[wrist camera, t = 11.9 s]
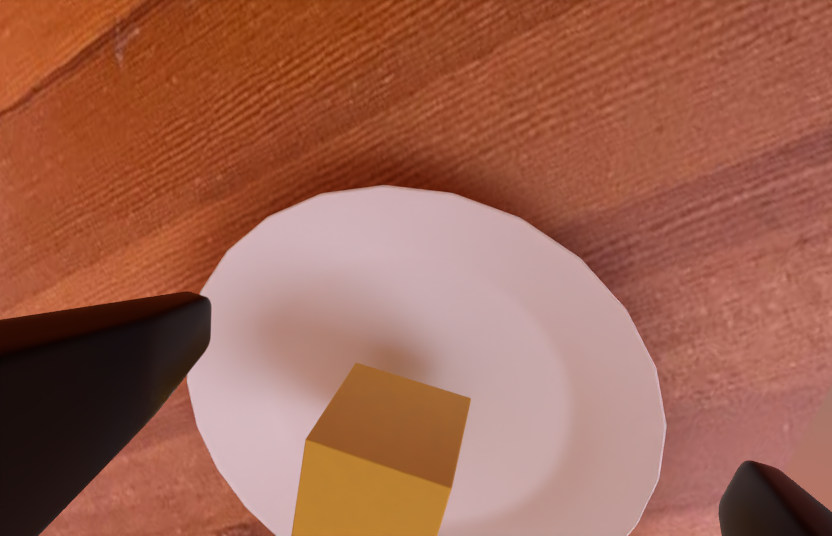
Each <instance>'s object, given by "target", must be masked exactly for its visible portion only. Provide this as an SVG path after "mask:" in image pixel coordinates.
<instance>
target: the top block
mask: <svg viewBox="0 0 832 536" xmlns="http://www.w3.org/2000/svg"><path fill="white" fill-rule="evenodd" d="M470 402H471V398H469V397H466V396H462V395H459V394H456V393H453V392H450V391H446V390H443V389H440V388H437V387H433V386H430V385H427V384H424V383H421V382H417V381H414V380H411V379H408V378H405V377H401V376H398V375H395V374H392V373H388V372H385V371H382V370H379V369H376V368H372V367H369V366H366V365H363V364H360V363H355V365H354V366H353V368H352V369H351V371H350V372H349V374H348V375H347V377H346V378H345V380H344V381H343V383H342V384H341V386H340V387H339V389H338V390H337V392H336V394H335V395H334V397H333V398H332V400H331V401H330V403H329V404H328V406H327V407H326V409H325V410H324V412H323V413H322V415H321V416H320V418H319V419H318V421H317V423H316V424H315V426H314V427H313V429H312V430H311V432H310V433H309V435H308V436H307V438H306V439H305V446H304V453H303V460H302V467H301V473H300V480H299V487H298V494H297V501H296V507H295V514H294V521H293V528H292V534H291V536H438V532H439V529H440V526H441V523H442V519H443V516H444V513H445V510H446V506H447V503H448V500H449V496H450V493H451V490H452V486H453V481H454V476H455V472H456V467H457V463H458V458H459V453H460V449H461V444H462V439H463V435H464V430H465V425H466V421H467V416H468V412H469V407H470Z"/></svg>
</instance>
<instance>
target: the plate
mask: <svg viewBox="0 0 832 536" xmlns="http://www.w3.org/2000/svg"><path fill="white" fill-rule="evenodd" d="M200 295H202V296H205V297H207V298H208V299H209V300H210V301H211V306H212V311H211V339H210V343H209V346H208V348H207V350H206V351H205V353H204V354H203V355H202V356H201V358H200V359H199V360H198V361H197V363H196V364H195V365H194V366H193V368H192V369H191V370H190V371H189V373H188V374H187V385H188V389H189V394H190V398H191V402H192V407H193V411H194V415H195V420H196V424H197V428H198V430H199V432H200V434H201V436H202V438H203V440H204V442H205V444H206V447H207V449H208V451H209V453H210V455H211V457H212V459H213V461H214V463H215V465H216V467H217V469H218V471H219V472H220V473H221V475H222V476H223V477H224V479H225V480H226V481H227V483H228V484H229V485H230V487H231V488H232V489H233V491H234V492H235V494H236V495H237V496H238V498H239V499H240V500H241V502H242V503H243V504H244V506H245V507H246V508H247V509H248V510H249V511H250V512H251V513H252V514H253V515H254V516H256V517H257V518H258V519H259V520H260V521H261V522H262V523H263V524H264V525H265V526H266V527H267V528H268V529H269V530H270V531H271V532H272V533H273V534H275V535H276V536H291V534H292V528H293V521H294V514H295V507H296V501H297V494H298V487H299V480H300V473H301V467H302V460H303V453H304V446H305V439H306V438H307V436H308V435H309V433H310V432H311V430H312V429H313V427H314V426H315V424H316V423H317V421H318V419H319V418H320V416H321V415H322V413H323V412H324V410H325V409H326V407H327V406H328V404H329V403H330V401H331V400H332V398H333V397H334V395H335V394H336V392H337V390H338V389H339V387H340V386H341V384H342V383H343V381H344V380H345V378H346V377H347V375H348V374H349V372H350V371H351V369H352V368H353V366H354V365H355V363H360V364H363V365H366V366H369V367H372V368H376V369H379V370H382V371H385V372H388V373H392V374H395V375H398V376H401V377H405V378H408V379H411V380H414V381H417V382H421V383H424V384H427V385H430V386H433V387H437V388H440V389H443V390H446V391H450V392H453V393H456V394H459V395H462V396H466V397H469V398H471V402H470V407H469V412H468V416H467V421H466V425H465V430H464V435H463V439H462V444H461V449H460V453H459V458H458V463H457V467H456V472H455V476H454V481H453V486H452V490H451V493H450V496H449V500H448V503H447V506H446V510H445V513H444V516H443V519H442V523H441V526H440V529H439V532H438V536H628V535H629V533H630V532H631V531H632V530H633V529H634V528H635V527H636V526H637V524H638V522H639V520H640V518H641V516H642V514H643V511H644V509H645V507H646V505H647V503H648V501H649V499H650V497H651V495H652V493H653V491H654V489H655V487H656V485H657V483H658V481H659V476H660V469H661V462H662V455H663V448H664V441H665V434H666V427H667V425H666V419H665V414H664V408H663V403H662V397H661V391H660V386H659V380H658V374H657V369H656V366H655V364H654V362H653V360H652V358H651V356H650V354H649V352H648V350H647V348H646V346H645V344H644V343H643V341H642V339H641V337H640V335H639V333H638V331H637V329H636V327H635V325H634V323H633V321H632V319H631V317H630V315H629V313H628V311H627V309H626V308H625V307H624V306H623V305H622V304H621V303H620V302H619V301H618V299H617V298H616V297H615V296H614V295H613V294H612V293H611V292H610V290H609V289H608V288H607V287H606V286H605V285H604V284H603V283H602V282H601V280H600V279H599V278H598V277H597V276H596V275H595V274H594V273H593V271H592V270H591V269H590V268H589V267H588V266H587V265H586V264H585V262H584V261H583V260H582V259H581V258H580V257H578V256H577V255H575V254H574V253H572V252H571V251H569V250H568V249H566V248H565V247H563V246H562V245H560V244H559V243H557V242H556V241H555V240H553V239H552V238H550V237H549V236H547V235H546V234H544V233H543V232H541V231H540V230H538V229H537V228H535V227H534V226H532V225H531V224H529V223H528V222H526V221H525V220H523V219H522V218H520V217H518V216H515V215H512V214H509V213H507V212H504V211H501V210H498V209H496V208H493V207H490V206H488V205H485V204H482V203H479V202H477V201H474V200H471V199H468V198H466V197H463V196H460V195H457V194H455V193H450V192H441V191H433V190H424V189H416V188H407V187H399V186H390V185H379V186H372V187H364V188H357V189H349V190H342V191H334V192H327V193H321V194H318V195H316V196H314V197H311V198H309V199H307V200H304V201H302V202H300V203H298V204H295V205H293V206H291V207H288V208H286V209H284V210H281V211H279V212H277V213H275V214H272V215H270V216H268V217H267V218H265V219H264V220H263V221H262V222H261V223H259V224H258V225H257V226H256V227H255V228H253V229H252V230H251V231H250V232H249V233H247V234H246V235H245V236H244V237H243V238H241V239H240V240H239V241H238V242H237V243H235V244H234V245H233V246H232V247H231V248H229V249H228V250H227V252H226V253H225V255H224V256H223V258H222V259H221V261H220V262H219V264H218V265H217V267H216V268H215V270H214V271H213V273H212V274H211V276H210V277H209V279H208V280H207V282H206V283H205V285H204V286H203V288H202V289H201V291H200Z"/></svg>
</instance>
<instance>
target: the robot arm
mask: <svg viewBox="0 0 832 536" xmlns="http://www.w3.org/2000/svg"><path fill="white" fill-rule="evenodd" d="M211 311H212V306H211V301H210V300H209V299H208V298H207V297H205V296H202V295H199V294H195V293H192V292H180V293H173V294H167V295H160V296H154V297H147V298H140V299H134V300H127V301H121V302H114V303H108V304H101V305H95V306H88V307H81V308H75V309H68V310H62V311H55V312H49V313H42V314H35V315H29V316H22V317H16V318H9V319H3V320H0V536H38V535H39V534H40V533H41V532H42V531H43V530H44V529H45V528H46V527H47V526H48V525H49V524H50V523H51V522H52V521H53V520H54V519H55V518H56V517H57V516H58V515H59V514H60V513H61V512H62V511H63V510H64V509H65V508H66V507H67V505H68V504H69V503H70V502H71V501H72V500H73V499H74V498H75V497H76V496H77V495H78V494H79V493H80V492H81V491H82V490H83V489H84V488H85V487H86V486H87V485H88V484H89V483H90V482H91V481H92V480H93V479H94V478H95V477H96V476H97V475H98V473H99V472H100V471H101V470H102V469H103V468H104V467H105V466H106V465H107V464H108V463H109V462H110V461H111V460H112V459H113V458H114V457H115V456H116V455H117V454H118V453H119V452H120V451H121V450H122V449H123V448H124V447H125V446H126V445H127V444H128V443H129V441H130V440H131V439H132V438H133V437H134V436H135V435H136V434H137V433H138V432H139V431H140V430H141V429H142V428H143V427H144V426H145V425H146V424H147V423H148V422H149V421H150V419H151V418H152V417H153V416H154V415H155V414H156V413H157V412H158V410H159V409H160V408H161V407H162V406H163V404H164V403H165V402H166V401H167V399H168V398H169V397H170V396H171V394H172V393H173V392H174V390H175V389H176V388H177V387H178V385H179V384H180V383H181V382H182V380H183V379H184V378H185V377H186V375H187V374H188V373H189V371H190V370H191V369H192V368H193V366H194V365H195V364H196V363H197V361H198V360H199V359H200V358H201V356H202V355H203V354H204V353H205V351H206V350H207V348H208V346H209V343H210V339H211ZM719 520H720V527H721V534H722V536H832V512H831V511H830V510H828V509H827V508H826V507H825V506H823V505H822V504H821V503H820V502H819V501H817V500H816V499H815V498H814V497H812V496H811V495H810V494H809V493H807V492H806V491H805V490H804V489H802V488H801V487H800V486H799V485H797V484H796V483H795V482H794V481H793V480H791V479H790V478H789V477H788V476H786V475H785V474H784V473H783V472H782V471H780V470H779V469H777V468H775V467H772V466H768V465H765V464H762V463H758V462H755V461H750V460H749V461H745V462H743V463H742V464H741V465H740V467H739V468H738V470H737V472H736V473H735V475H734V477H733V479H732V480H731V482H730V484H729V486H728V487H727V489H726V491H725V493H724V494H723V496H722V498H721V501H720V504H719Z"/></svg>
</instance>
